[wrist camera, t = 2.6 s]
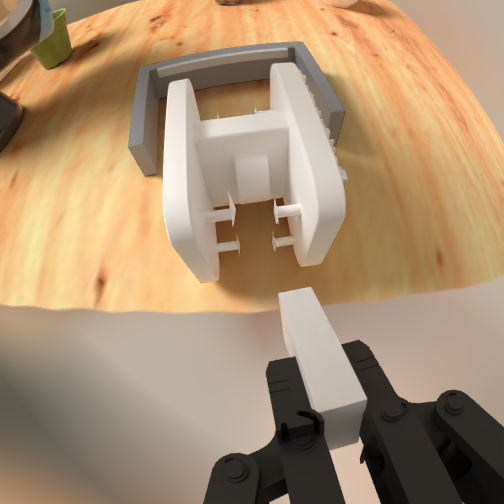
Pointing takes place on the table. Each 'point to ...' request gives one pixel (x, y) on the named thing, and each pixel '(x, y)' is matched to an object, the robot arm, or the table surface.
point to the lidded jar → (340, 3)
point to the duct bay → (215, 74)
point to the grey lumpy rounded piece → (228, 1)
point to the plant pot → (54, 43)
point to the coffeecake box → (8, 69)
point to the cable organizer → (250, 172)
